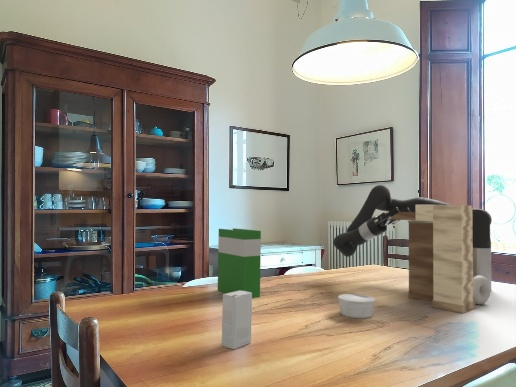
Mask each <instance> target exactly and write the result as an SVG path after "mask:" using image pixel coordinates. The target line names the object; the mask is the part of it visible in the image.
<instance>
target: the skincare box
mask: <svg viewBox="0 0 516 387" xmlns="http://www.w3.org/2000/svg"><path fill="white" fill-rule="evenodd" d="M252 300H253V298H252V293H251V292H246V291H235V292H231V293H227V294H226V293H223V294H222V312H221V313H222V314H221V315H222V316H221V318H222V320H221V321H222V322H221V346H223V347H225V348H229V349H232V350H236V349H239V348H241V347H244V346H246V345H249V344H251V343H252V313H253V311H252V310H253V309H252V307H253V306H252V305H253V304H252V303H253V302H252Z"/></svg>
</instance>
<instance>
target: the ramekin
mask: <svg viewBox="0 0 516 387" xmlns="http://www.w3.org/2000/svg"><path fill="white" fill-rule="evenodd" d="M337 301H338V306H339V311H340V314H342V316H344V317H347V318H351V319H352V318H353V319H368V318H371V317H372V316H373V313H374V310H375V304H376V298H375V297H374V296H373V297H372V296H370V295H365V294H359V293H357V294H356V293H344V294H343V293H342V294H340V295H338V296H337Z"/></svg>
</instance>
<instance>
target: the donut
mask: <svg viewBox="0 0 516 387" xmlns="http://www.w3.org/2000/svg"><path fill="white" fill-rule="evenodd" d="M490 296H491V291H490V284H489V281H488V280H487V279H486V278H485V277H484V276H480V275H478V276H475V277H474V278H473V301H474V305H475V304H476V305H479V306H480V305H484V304H485V303H486V302H487V301H488V300H489V298H490Z"/></svg>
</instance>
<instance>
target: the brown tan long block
mask: <svg viewBox="0 0 516 387" xmlns="http://www.w3.org/2000/svg"><path fill="white" fill-rule="evenodd" d="M415 208H416V212H399V213H397V214H396V215H394V216H392V220H400V221H408V220H417V221H433V205H415Z"/></svg>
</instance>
